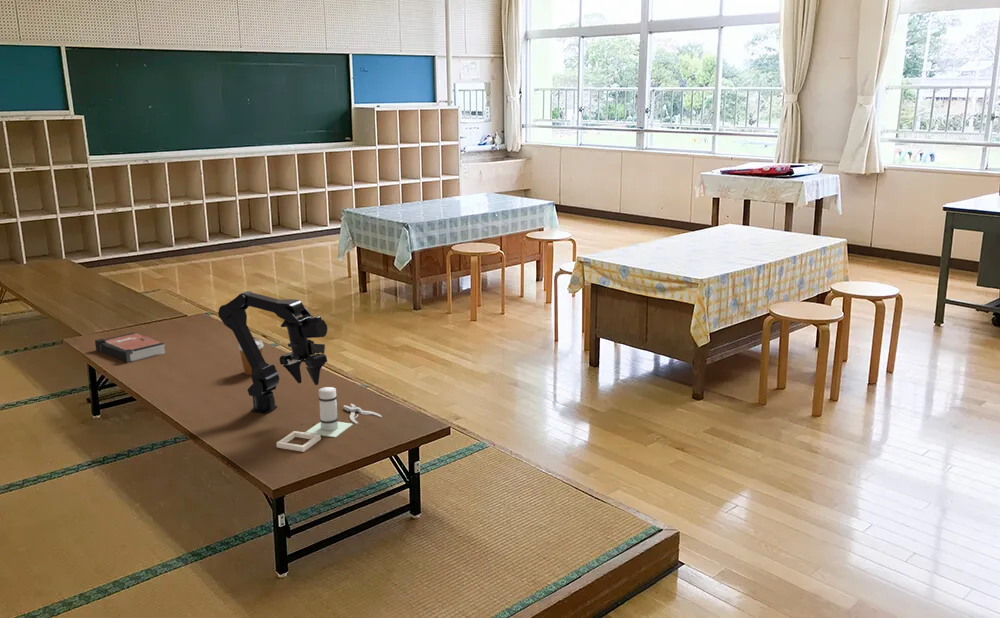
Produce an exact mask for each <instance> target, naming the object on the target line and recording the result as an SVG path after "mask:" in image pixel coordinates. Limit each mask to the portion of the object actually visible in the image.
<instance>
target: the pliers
mask: <svg viewBox="0 0 1000 618" xmlns="http://www.w3.org/2000/svg"><path fill="white" fill-rule="evenodd" d="M343 410H345V411H347V412H350V415H349V420H350V421H351V422H352V424H355V425H359V424H360V423H359V422H358V421H357V420H356V419H357V418H358V416H359V414H360V415H363V416H369V415H373V416H376V417H377V418H378V417H379V418H381V419H382V418H383V416H382V415H381V414H379V413H377V412H374V411H371V410H363V409H362V408H361V407H359V406H357V405H355V404H354V403H350V405H349V406H348V405H346V404H345V405H343ZM356 412H358V413H359V414H358V413H357V414H356Z"/></svg>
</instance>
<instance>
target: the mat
mask: <svg viewBox="0 0 1000 618" xmlns="http://www.w3.org/2000/svg"><path fill="white" fill-rule="evenodd" d="M353 426H354V423H350V422H343V421H338V428H337V429H336V430H333V431H323V430H321V422H320V421H319V422H318V423H316V424H314V425H313V426H312V427H311V428H309V429H307V430H306V431H305V433H311V434H317V435H321V436H323V437H330V438H335V439H336V438H337V437H339V436H340V435H342V434H343V433H344V432H346V431H347V430H348V429H349V428H350V427H353Z"/></svg>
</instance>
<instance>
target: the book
mask: <svg viewBox="0 0 1000 618" xmlns="http://www.w3.org/2000/svg"><path fill="white" fill-rule="evenodd" d="M94 343H95V344H94V345H95V351H96V352H99V353H103V354H106V355H108V356H111V357H112V358H116V359H117V360H120V361H122V362H123V363H126V364H131V363H135V362H137V361H142V360H145V359H150V358H154V357H156V356H160V355H164V354H167V352H166V350H165V346H166V343H164V342H161V341H158V340H156V339H152V337H151V336H144V335H142V334H139V333H135V332H130V333H127V334H123V335H117V336H113V337H109V338H105V339H104V338H99V339H94Z"/></svg>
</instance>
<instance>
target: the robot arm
mask: <svg viewBox="0 0 1000 618" xmlns="http://www.w3.org/2000/svg"><path fill="white" fill-rule="evenodd" d="M249 307H251V308H254V309H259V310H263V311H267V312H269V313H273V314H275V315H276V316H277V317H278V318H280V319H282V320H283V322H282V323H281V325H280V328H286V330H287V333H288V334H287V335H288V338H289V343H287V346H288V347H289V348H291V351H290V352H288V353H285V354H281V355H280V357H279V358H278V359H279V365H282V367H284V368H285V369H286V371H288V372H289V374H290V375H291V376H292V377H293V379H294V380H295V381H296V382H297V384H301V383H302V381H303V380H302V374H301V373H302V372H301V364H302V363H305V365H306V367H305V368H306V370H307V373H308V374H309V376H310V378H311V380H312V382H313V384H314V385H315V386H317V385H319V383H320V382H319V381H320V375H321V369H322V367H323V366H324V365H325V364H326V363H328V357H327V355H326V354H325V351H326V344H323V343H315V342H314V340H311V339H313V338H314V339H316V338H324V337H326V336H327V333H328V325H327V323H326V322H325V320H324V319H322V316H321V315H317V316H313V314H311V312H310V311H309V310H308V309H307V308H306V307H305V305H304V304H303V302H302V301H301V300H300V299H291V298H288V299H287V298H286V299H279V298H276V297H270V296H266V295H263V294H258V293H256V292H253V291H251V290H249V291H248V290H247V291H245V292H242V293H239V294H238V295H237V296H236V297H235V298H233V299H232V300H231V301H229V302H227V303H226V304H222V305H220V306H219V308H218V312H217V315H218V317H219V319H220V321H221V322H222V323H223V325H224V326H225V327H227V328H229V329H230V330H231V331H232V332H233V335H234V336H235V339H236V340H237V342H238V345H239V344H240V346H241V348H242V350H243V352H244V354H245V356H246V358H247V360H248V362H249V364H250V366H251V369H252V372H251V375H250V376H251V382H252V384H251V385H250V386H249V387H248V388H247V393H248V395H249V396H251V397H252V404H253V405H252V406H253V407H252V408H251V409H250V412H253V413H262V414H268V413H269V412H271V411H273V410H274V409H276V408H278V406H277V405H276V401H275V396H274V390H276V389H277V386H278V384H279V382H280V376H279V375H280V373H279V372H278V371H277V368H276V366H275V364H274V363H272V364H269V363H267V362H266V360H265V358H264V357H263V353H262V354H261V352H260V350H259V348H258V346H257V344H256V342H255V340H256V339H255V338H254V336H253V334H252V333H251V330H250V328H249V327H248V325H247V322H248V321H247V320H248V319H247V318H248V317H247V316H248V314H247V311H246V310H247V309H248V308H249Z"/></svg>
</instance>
